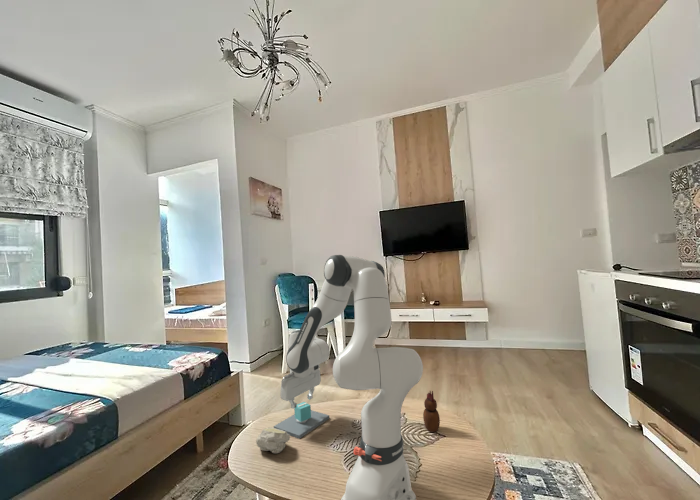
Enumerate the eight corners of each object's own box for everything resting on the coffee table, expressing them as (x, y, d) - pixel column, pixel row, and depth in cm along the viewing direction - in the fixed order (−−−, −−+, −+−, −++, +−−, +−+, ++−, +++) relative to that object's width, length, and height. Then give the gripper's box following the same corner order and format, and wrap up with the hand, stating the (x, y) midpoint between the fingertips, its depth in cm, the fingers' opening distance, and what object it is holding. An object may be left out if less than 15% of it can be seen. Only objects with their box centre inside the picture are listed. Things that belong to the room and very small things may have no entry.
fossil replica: (261, 443, 118) (252, 462, 108) (258, 421, 117) (249, 438, 107) (293, 439, 117) (287, 457, 107) (290, 417, 117) (284, 433, 107)
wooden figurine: (442, 434, 117) (439, 392, 118) (426, 434, 117) (423, 393, 118) (437, 424, 124) (435, 385, 124) (422, 425, 124) (420, 386, 124)
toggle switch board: (299, 438, 119) (298, 423, 119) (273, 429, 127) (273, 414, 127) (329, 418, 133) (328, 404, 134) (304, 411, 141) (304, 398, 142)
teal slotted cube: (311, 417, 130) (310, 404, 130) (300, 421, 127) (300, 408, 127) (304, 413, 134) (304, 401, 134) (294, 417, 131) (294, 404, 131)
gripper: (287, 378, 121) (288, 415, 121) (322, 363, 138) (323, 395, 137) (276, 375, 125) (277, 411, 124) (311, 361, 141) (313, 392, 141)
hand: (302, 403), depth 131 cm, fingers open, 8 cm apart
